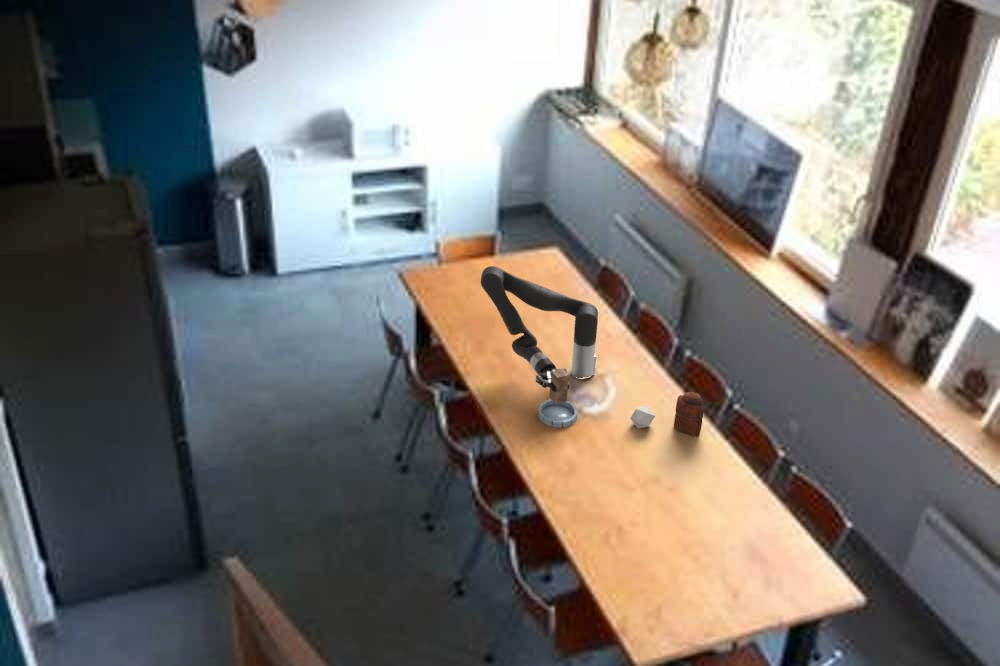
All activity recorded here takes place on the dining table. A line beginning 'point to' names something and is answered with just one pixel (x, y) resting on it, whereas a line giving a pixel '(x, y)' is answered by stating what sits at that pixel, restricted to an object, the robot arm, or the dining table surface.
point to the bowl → (557, 413)
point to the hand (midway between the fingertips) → (562, 388)
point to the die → (642, 417)
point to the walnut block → (559, 385)
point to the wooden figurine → (689, 414)
